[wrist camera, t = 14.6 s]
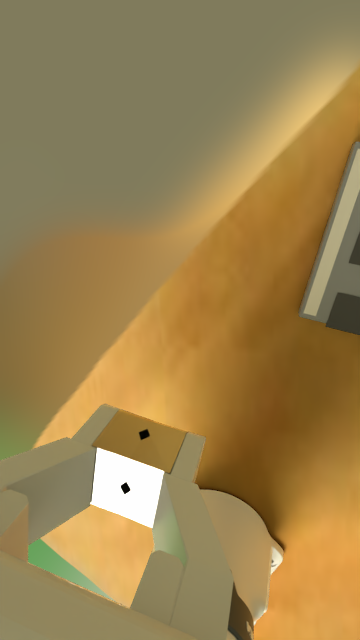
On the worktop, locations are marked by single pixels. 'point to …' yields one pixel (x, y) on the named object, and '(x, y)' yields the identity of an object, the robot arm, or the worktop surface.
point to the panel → (338, 259)
